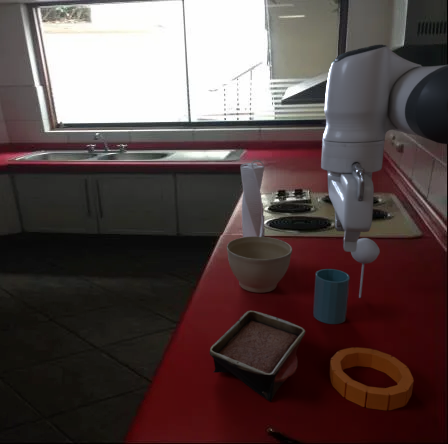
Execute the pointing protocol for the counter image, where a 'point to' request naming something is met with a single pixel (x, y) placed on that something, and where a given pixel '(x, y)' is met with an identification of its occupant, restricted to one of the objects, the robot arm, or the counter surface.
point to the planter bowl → (258, 262)
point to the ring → (365, 394)
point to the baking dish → (259, 351)
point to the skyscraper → (252, 200)
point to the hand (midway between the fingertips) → (344, 239)
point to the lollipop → (365, 255)
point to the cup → (331, 296)
